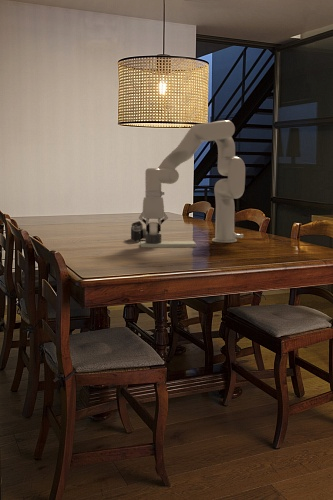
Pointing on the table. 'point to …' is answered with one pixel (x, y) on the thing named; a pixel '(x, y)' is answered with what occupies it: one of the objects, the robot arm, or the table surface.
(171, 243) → the board
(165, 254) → the table surface
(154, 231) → the cylinder
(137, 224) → the camera
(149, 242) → the black faceted cup
